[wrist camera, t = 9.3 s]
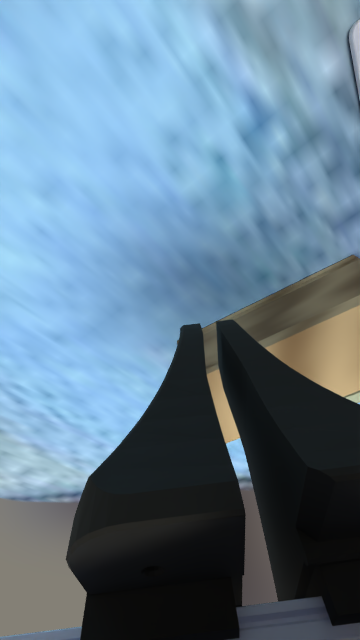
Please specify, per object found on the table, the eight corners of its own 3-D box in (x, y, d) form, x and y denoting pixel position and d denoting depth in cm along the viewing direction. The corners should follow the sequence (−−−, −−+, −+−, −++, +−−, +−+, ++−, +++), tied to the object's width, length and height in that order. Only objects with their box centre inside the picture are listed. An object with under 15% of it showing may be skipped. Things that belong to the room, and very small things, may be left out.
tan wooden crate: (353, 254, 21) (403, 285, 17) (370, 327, 24) (416, 367, 20) (177, 340, 24) (181, 385, 19) (214, 395, 27) (225, 443, 23)
